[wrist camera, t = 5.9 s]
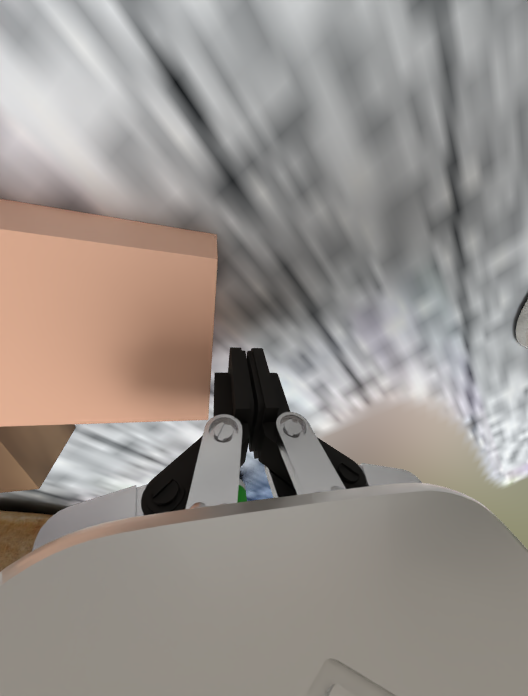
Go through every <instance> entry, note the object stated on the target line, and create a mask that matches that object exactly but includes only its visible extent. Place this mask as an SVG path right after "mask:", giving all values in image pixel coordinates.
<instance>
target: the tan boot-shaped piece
mask: <svg viewBox="0 0 528 696" xmlns="http://www.w3.org/2000/svg"><path fill="white" fill-rule="evenodd" d="M52 516H53V515H48V514H38V513H26V512H13V511H0V572H1V571H2V570H3V569H5V568H6V567H7V566H9V565H10V564H12V563H14V562H15V561H17V560H18V559H20V558H22V557H23V556H25V555H26V554H28V553H30V552H32V549H33V546H34V542H35V539H36V537H37V535H38V533H39V531H40V529H41V528H42V526H43V525H44V524H45V523H46V522H47V521H48V519H49V518H51V517H52Z"/></svg>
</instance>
